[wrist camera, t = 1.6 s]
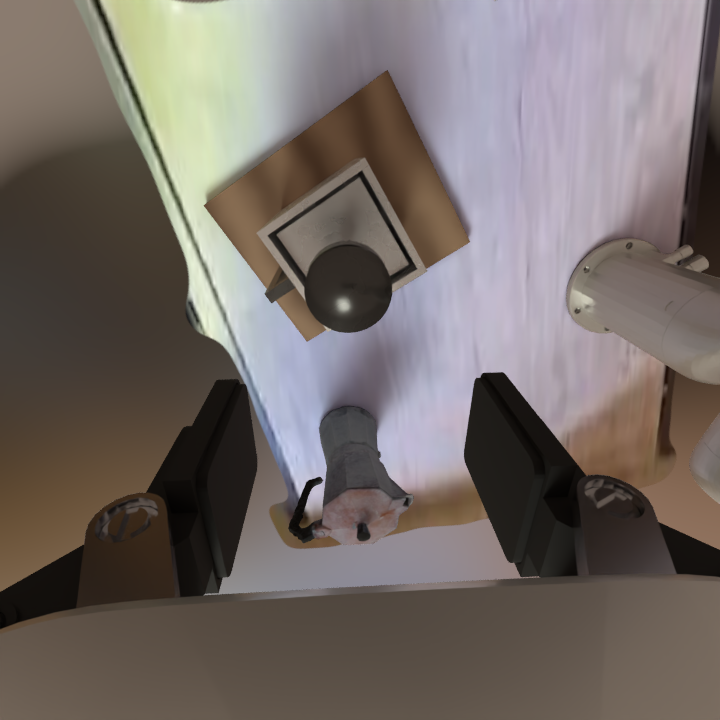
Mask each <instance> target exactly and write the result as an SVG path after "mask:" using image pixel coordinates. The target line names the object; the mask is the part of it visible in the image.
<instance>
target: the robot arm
mask: <svg viewBox="0 0 720 720" xmlns="http://www.w3.org/2000/svg"><path fill="white" fill-rule="evenodd" d="M692 253H693V250H692V248H691V247H690V246H689V245H684V246H682V247H681V248H679V249H677V250H675V251H674V252H672V253H671V254H662V253H661V252H660V251H659V250H658V249H657V248H656V247H655V246H653V245H652V244H651V243H648V242H646V241H643V240H639V239H634V238H622V239H617V240H613V241H610V242H608V243H605V244H603V245H601V246H600V247H598V248H596V249H595V250H594V251H592V252H591V253H590V254H588V255H587V256H586V257H585V258H584V259H583V260H582V261H581V263H580V264H579V265H578V267H577V268H576V269H575V271H574V273H573V275H572V277H571V279H570V281H569V284H568V288H567V294H566V302H567V308H568V311H569V314H570V315H571V317H572V319H573V320H574V321H575V322H576V323H577V324H578V325H580V326H581V327H583V328H584V329H586V330H589V331H591V332H596V333H612V332H614V333H616V334H617V335H619V336H620V337H622V338H624V339H625V340H627V341H628V342H630V343H632V344H633V345H635V346H637V347H638V348H640V349H641V350H643V351H645V352H646V353H648V354H649V355H651V356H653V357H654V358H656V359H658V360H659V361H661V362H662V363H664V364H666V365H667V366H669V367H670V368H672V369H674V370H675V371H677V372H679V373H680V374H682V375H684V376H686V377H688V378H690V379H693V380H696V381H699V382H704V383H709V384H720V278H716V277H713V276H710V275H706V274H703V273H700V271H703V270H704V269H706V268H708V266H709V265H708V264H709V263H708V261H707V260H706V258H705V257H704V256H701V255H697V256H695V257H694V258H692V259H690V260H688V261H686V262H684V263H683V264H682V265H680V266H677V265H675V263H676V262H677V261H679V260H682V259H684V258H686V257H688V256H690V255H691V254H692ZM464 459H465V463H466V466H467V468H468V470H469V473H470V475H471V477H472V480H473V482H474V484H475V487H476V489H477V491H478V494H479V496H480V498H481V501H482V503H483V505H484V508H485V510H486V512H487V515H488V517H489V519H490V522H491V524H492V526H493V528H494V531H495V533H496V535H497V538H498V540H499V542H500V545H501V547H502V549H503V552H504V554H505V556H506V558H507V560H508V561H509V562H510V563H515V565H516V567H517V570H518V572H519V574H520V576H521V577H530V576H531V577H532V576H539V577H541V578H521V579H500V580H499V579H498V580H479V581H457V582H437V583H418V584H398V585H379V586H362V587H342V588H325V589H306V590H290V591H272V592H256V593H238V594H222V595H205V596H203V595H204V594H205V593H206V594H207V593H219V589H220V586H221V582H222V578H223V577H229V576H230V574H231V571H232V567H233V563H234V559H235V555H236V551H237V547H238V544H239V540H240V536H241V532H242V528H243V523H244V520H245V516H246V512H247V508H248V504H249V500H250V496H251V492H252V488H253V484H254V480H255V476H256V472H257V454H256V448H255V441H254V434H253V427H252V420H251V413H250V406H249V399H248V392H247V387H246V385H245V384H240V382H239V380H238V379H230V380H217V381H216V382H215V384H214V386H213V388H212V390H211V391H210V393H209V395H208V397H207V399H206V401H205V402H204V404H203V406H202V408H201V410H200V412H199V414H198V416H197V417H196V419H195V421H194V423H193V425H192V426H186V427H184V428H183V429H182V430H181V432H180V434H179V436H178V437H177V439H176V441H175V442H174V444H173V446H172V448H171V450H170V451H169V453H168V455H167V457H166V458H165V460H164V462H163V464H162V466H161V467H160V469H159V471H158V472H157V474H156V476H155V478H154V480H153V481H152V483H151V485H150V486H149V488H148V490H147V492H146V493H135V494H130V495H127V496H124V497H122V498H119V499H116V500H114V501H113V502H111V503H109V504H108V505H106V506H104V507H103V508H102V509H101V510H100V511H99V512H98V513H96V514H95V516H94V517H93V518H92V520H91V521H90V522H89V524H88V527H87V530H86V533H85V541H84V545H82V546H80V547H79V548H77V549H75V550H73V551H72V552H70V553H68V554H66V555H65V556H63V557H61V558H59V559H58V560H56V561H54V562H52V563H51V564H49V565H47V566H45V567H43V568H42V569H40V570H38V571H37V572H35V573H33V574H31V575H29V576H28V577H26V578H24V579H22V580H21V581H19V582H17V583H15V584H14V585H12V586H10V587H8V588H6V589H5V590H3V591H1V592H0V720H720V550H719V549H717V548H714V547H712V546H710V545H708V544H705V543H703V542H701V541H699V540H697V539H694V538H692V537H690V536H688V535H686V534H683V533H681V532H679V531H677V530H675V529H672V528H670V527H668V526H666V525H664V524H661V523H659V522H658V520H657V517H656V515H655V512H654V509H653V506H652V505H651V503H650V501H649V500H648V498H647V497H646V496H644V495H643V493H642V492H640V491H639V490H638V489H636V488H635V487H633V486H632V485H630V484H628V483H626V482H624V481H622V480H620V479H617V478H613V477H610V476H605V475H588V476H586V475H585V473H584V472H583V471H582V470H581V468H580V467H579V466H578V465H577V463H576V462H575V461H574V460H573V458H572V457H571V456H570V455H569V453H568V452H567V451H566V450H565V448H564V447H563V446H562V445H561V443H560V442H559V441H558V440H557V438H556V437H555V436H554V435H553V433H552V432H551V431H550V429H549V428H548V427H547V426H546V424H545V423H544V422H543V421H542V419H540V418H539V416H538V415H537V414H536V412H535V411H534V410H533V409H532V407H531V406H530V405H529V404H528V402H527V401H526V400H525V399H524V397H523V396H522V395H521V394H520V392H519V391H518V390H517V389H516V387H515V386H514V385H513V383H512V382H511V381H510V380H509V378H508V377H507V376H506V375H505V374H504V373H503V372H498V373H483V374H482V375H481V378H476V379H475V382H474V388H473V395H472V402H471V408H470V415H469V422H468V429H467V436H466V442H465V449H464ZM689 467H690V471H691V474H692V476H693V478H694V480H695V481H696V482H697V484H698V485H699V486H700V487H701V488H702V489H703V490H704V491H705V492H706V493H707V494H708V495H709V496H711V497H712V498H713V499H714V500H715V501H716V502H718V503H719V504H720V413H719V415H718V416H717V417H716V419H715V420H714V421H713V423H712V424H711V425H710V427H709V428H708V430H707V431H706V432H705V434H704V435H703V436H702V438H701V439H700V441H699V442H698V444H697V445H696V447H695V448H694V450H693V452H692V454H691V457H690V463H689Z"/></svg>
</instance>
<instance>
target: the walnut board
mask: <svg viewBox="0 0 720 720" xmlns="http://www.w3.org/2000/svg"><path fill="white" fill-rule="evenodd" d="M364 157H365V159H366V161H367V162H368V164H369V166H370V168H371V170H372V172H373V173H374V175H375V177H376V179H377V181H378V182H379V184H380V186H381V188H382V190H383V192H384V193H385V195H386V197H387V199H388V201H389V202H390V204H391V206H392V208H393V210H394V212H395V213H396V215H397V217H398V219H399V221H400V222H401V224H402V226H403V228H404V230H405V232H406V233H407V235H408V237H409V239H410V241H411V242H412V244H413V246H414V248H415V250H416V252H417V253H418V255H419V257H420V259H421V261H422V262H423V264H424V266H425V268H426V269H427V268H428V267H430V266H432V265H433V264H435V263H436V262H438V261H440V260H441V259H443V258H445V257H446V256H448V255H450V254H451V253H453V252H454V251H456V250H458V249H459V248H461V247H463V246H464V245H466V244H468V243H469V242H470V241H469V239H468V236H467V234H466V232H465V230H464V228H463V226H462V224H461V222H460V220H459V218H458V216H457V214H456V212H455V209H454V207H453V205H452V203H451V201H450V199H449V197H448V195H447V193H446V191H445V189H444V187H443V184H442V182H441V180H440V178H439V176H438V174H437V172H436V170H435V168H434V166H433V164H432V162H431V160H430V157H429V155H428V153H427V151H426V149H425V147H424V145H423V143H422V141H421V139H420V137H419V135H418V132H417V130H416V128H415V126H414V124H413V122H412V120H411V118H410V116H409V114H408V112H407V110H406V108H405V105H404V103H403V101H402V99H401V97H400V95H399V93H398V91H397V89H396V87H395V85H394V83H393V80H392V78H391V76H390V74H389V72H388V70H387V71H385V72H384V73H383V74H381V75H380V76H379V77H377V78H376V79H375V80H373V81H372V82H370V83H369V84H368V85H366V86H365V87H364V88H362V89H361V90H360V91H358V92H357V93H356V94H354V95H353V96H351V97H350V98H349V99H347V100H346V101H345V102H343V103H342V104H341V105H339V106H338V107H337V108H335V109H334V110H332V111H331V112H330V113H328V114H327V115H326V116H324V117H323V118H322V119H320V120H319V121H318V122H316V123H315V124H313V125H312V126H311V127H309V128H308V129H307V130H305V131H304V132H303V133H301V134H300V135H299V136H297V137H296V138H294V139H293V140H292V141H290V142H289V143H288V144H286V145H285V146H284V147H282V148H281V149H280V150H278V151H277V152H275V153H274V154H273V155H271V156H270V157H269V158H267V159H266V160H265V161H263V162H262V163H261V164H259V165H258V166H257V167H255V168H254V169H252V170H251V171H250V172H248V173H247V174H246V175H244V176H243V177H242V178H240V179H239V180H238V181H236V182H235V183H233V184H232V185H231V186H229V187H228V188H227V189H225V190H224V191H223V192H221V193H220V194H219V195H217V196H216V197H214V198H213V199H212V200H210V201H209V202H208V203H206V204H205V205H204V207H205V208H206V209H207V211H208V212H209V213H210V215H211V216H212V217H213V219H214V220H215V221H216V222H217V224H218V225H219V226H220V228H221V229H222V230H223V232H224V233H225V234H226V236H227V237H228V238H229V240H230V241H231V242H232V244H233V245H234V246H235V247H236V249H237V250H238V251H239V253H240V254H241V255H242V257H243V258H244V259H245V261H246V262H247V263H248V265H249V266H250V267H251V269H252V270H253V271H254V272H255V274H256V275H257V276H258V278H259V279H260V280H261V282H262V283H263V284H264V286H265V287H266V288H268V287H269V285H270V283H271V281H272V279H273V277H274V275H275V273H276V271H277V270H278V268H279V266H280V265H279V264H278V262H277V261H276V260H275V258H274V257H273V255H272V254H271V253H270V251H269V250H268V248H267V247H266V246H265V244H264V243H263V242H262V240H261V239H260V237H259V236H258V235H257V232H258V231H259V230H260V229H261V228H262V227H263V226H264V225H266V224H267V223H268V222H269V221H270V220H271V219H272V218H273V217H274V216H275V215H276V214H277V213H279V212H280V211H281V210H282V209H283V208H285V207H286V206H288V205H289V204H291V203H292V202H293V201H295V200H296V199H298V198H299V197H301V196H302V195H303V194H305V193H306V192H308V191H309V190H311V189H312V188H313V187H315V186H316V185H318V184H319V183H321V182H322V181H323V180H325V179H326V178H328V177H329V176H331V175H332V174H333V173H335V172H336V171H338V170H339V169H341V168H342V167H343V166H345V165H346V164H348V163H349V162H351V161H352V160H353V159H355V158H364ZM276 301H277V303H278V304H279V305H280V307H281V308H282V309H283V311H284V312H285V313H286V315H287V316H288V317H289V319H290V320H291V321H292V322H293V324H294V325H295V326H296V328H297V329H298V330H299V332H300V333H301V334H302V336H303V337H304V338H305V340H306V341H309V340H311V339H312V338H314V337H315V336H317V335H319V334H320V333H322V332H324V331H325V330H326V329H325V327H324V326H323V325H322V324H321V323H320V322H319V321H318V320H316V319H315V317H314V316H313V315H312V313H311V312H310V310H309V308H308V306H307V303H306V301H305V300H304V298H303V297H302V295H301V294H300V293H299V291H298V290H297V289H296V288H294V289H293V290H291V291H290V292H288V293H287V294H285V295H284V296H282V297H280V298H279V299H277V300H276Z"/></svg>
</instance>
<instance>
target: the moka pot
mask: <svg viewBox="0 0 720 720" xmlns="http://www.w3.org/2000/svg"><path fill="white" fill-rule="evenodd" d="M319 432H320V439H321V444H322V448H323V452H324V456H325V460H326V465H327V472H326V481H325V491H324V499H323V515H322V519H320V520H317V521H314V522H313V523H311V525H309V526H308V527H306V528H301V527H300V526H299V523H300V521H301V519H302V518H303V515H302V513H303V512H304V509H305V506H306V503H307V499H308V496H309V494H310V492H311V489H312V488H313V487H314V486H316V485H319V484H321V483H322V481H323V480H322V478H321V477H317V478H315V479H312V480H308V482H306V485H305V488H304V489H303V491H302V494H301V497H300V499H299V502H298V506H297V507H296V509H295V512H294V515H293V518H292V519H291V521H290V523H289V528H288V529H289V531H290V532H291V533H293V535H294V536H297V537H298V539H300V540H301V541H302V543H306V542H308V541H311V540H312V539H314V538H316V539H321V538H324V537H327V536H328V535H329V536H331V537H332V538H334V539H335V540H337V541H338V542H340V543H341V544H343V545H352V544H353V545H354V544H373V543H375V542H377V541H378V540H379V539H381V538H382V537H384V536H385V535H387V534H388V533H390V532H391V531H393V530H395V529H396V528H397V524H398V518H399V515H400V514H401V513H403V512H404V511H406V510H407V509H408V507H409V506H410V505H411V504H412V502H413V499H414V497H413V495H412V494H407V493H406V492H405V491H404V490H402V489H401V488H400V487H399V486H398V485H397V484H396V483H395V482H394V481H393V480H392V479H390V477H389V476H388V474H387V471H386V469H385V467H384V465H383V464H382V463H381V462H380V460H379V458H380V457H381V454H380V452H379V451H378V448H377V430H376V421H375V419H374V418H373V417H372V416H371V415H370V414H369V413H368V412H367V411H365V410H364V409H361V408H357V407H352V406H351V407H350V406H347V407H342V408H339V409H337V410H334V411H332V412H330V413H329V414H328V415H327V416H326V417H325V418H324V420H323V421H322V423H321V425H320V427H319Z"/></svg>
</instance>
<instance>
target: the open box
mask: <svg viewBox="0 0 720 720" xmlns="http://www.w3.org/2000/svg"><path fill="white" fill-rule="evenodd" d="M358 177H360V179H361V181H362V183H363V184H364V186H365V188H366V190H367V191H368V193H369V195H370V197H371V198H372V200H373V202H374V204H375V206H376V207H377V209H378V211H379V213H380V214H381V216H382V218H383V220H384V221H385V223H386V225H387V227H388V228H389V230H390V232H391V234H392V236H393V237H394V239H395V241H396V243H397V244H398V246H399V248H400V250H401V251H402V253H403V255H404V257H405V258H406V260H407V262H408V265H407V266H405V267H404V268H402V269H400V270H399V271H397V272H396V273H394V274H392V275H391V276H390V278H391V282H392V292H394V291H396V290H397V289H399V288H401V287H402V286H404V285H406V284H407V283H409V282H410V281H412V280H414V279H415V278H417V277H419V276H420V275H422V274H424V273H425V272H427V270H426V268H425V266H424V264H423V262H422V261H421V259H420V257H419V255H418V253H417V252H416V250H415V248H414V246H413V244H412V242H411V241H410V239H409V237H408V235H407V233H406V232H405V230H404V228H403V226H402V224H401V222H400V221H399V219H398V217H397V215H396V213H395V212H394V210H393V208H392V206H391V204H390V202H389V201H388V199H387V197H386V195H385V193H384V192H383V190H382V188H381V186H380V184H379V182H378V181H377V179H376V177H375V175H374V173H373V172H372V170H371V168H370V166H369V164H368V162H367V161H366V159H365V157H364V158H355V159H353V160H352V161H351V162H349V163H348V164H346V165H345V166H343V167H342V168H341V169H339V170H338V171H336V172H335V173H333V174H332V175H331V176H329V177H328V178H326V179H325V180H323V181H322V182H321V183H319V184H318V185H316V186H315V187H313V188H312V189H311V190H309V191H308V192H306V193H305V194H303V195H302V196H301V197H299V198H298V199H296V200H295V201H293V202H292V203H291V204H289V205H288V206H286V207H285V208H283V209H282V210H281V211H280V212H279V213H277V214H276V215H275V216H274V217H273V218H272V219H271V220H270V221H269V222H268V223H267V224H266V225H264V226H263V227H262V228H261V229H260V230H259V231H258V232H257V235H258V236H259V237H260V239H261V240H262V242H263V243H264V244H265V246H266V247H267V248H268V250H269V251H270V253H271V254H272V255H273V257H274V258H275V260H276V261H277V262H278V264H279V265H280V266H279V268H278V270H277V271H276V273H275V275H274V277H273V279H272V281H271V283H270V285H269V287H268V288H267V290H266V292H265V295H266V297H267V298H268V299H269V301H270V302H271V303H273V302H274V301H276V300H277V299H279V298H280V297H282V296H284V295H285V294H287V293H288V292H290V291H291V290H293V289H294V288H296V289H297V290H298V291H299V293H300V294H301V295H302V297H303V298H304V300H305V294H304V287H305V280H306V276H305V275H304V273H303V272H302V270H301V269H300V267H299V266H298V265H297V263H296V262H295V260H294V259H293V257H292V256H291V255H290V253H289V252H288V250H287V249H286V247H285V246H284V245H283V243H282V242H281V240H280V239H279V237H278V236H277V235H276V234H277V233H278V232H280V231H281V230H283V229H284V228H286V227H287V226H289V225H290V224H291V223H293V222H294V221H296V220H297V219H299V218H300V217H302V216H303V215H305V214H306V213H307V212H309V211H310V210H312V209H313V208H315V207H316V206H318V205H319V204H321V203H322V202H323V201H325V200H326V199H328V198H329V197H331V196H332V195H334V194H335V193H337V192H338V191H339V190H341V189H342V188H344V187H345V186H347V185H348V184H350V183H351V182H353V181H354V180H355V179H357V178H358ZM305 301H306V300H305ZM323 326H324V325H323ZM324 327H325V326H324ZM325 329H326V330H327V331H330V330H332V329H329V328H327V327H325Z"/></svg>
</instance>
